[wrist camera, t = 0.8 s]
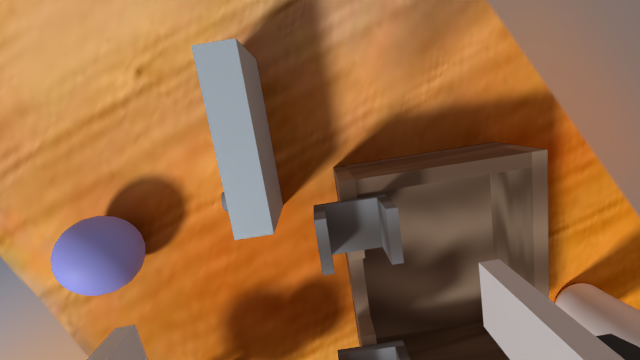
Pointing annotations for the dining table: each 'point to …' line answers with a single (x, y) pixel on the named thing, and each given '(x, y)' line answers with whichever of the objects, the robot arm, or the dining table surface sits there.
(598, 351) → the robot arm
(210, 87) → the door
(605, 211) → the dining table surface
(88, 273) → the sphere
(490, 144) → the box
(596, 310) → the drinking glass
